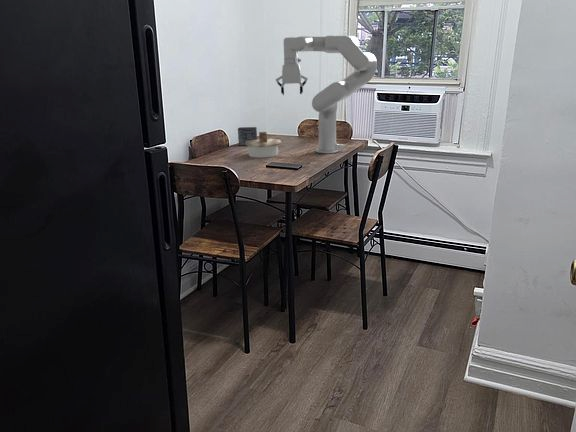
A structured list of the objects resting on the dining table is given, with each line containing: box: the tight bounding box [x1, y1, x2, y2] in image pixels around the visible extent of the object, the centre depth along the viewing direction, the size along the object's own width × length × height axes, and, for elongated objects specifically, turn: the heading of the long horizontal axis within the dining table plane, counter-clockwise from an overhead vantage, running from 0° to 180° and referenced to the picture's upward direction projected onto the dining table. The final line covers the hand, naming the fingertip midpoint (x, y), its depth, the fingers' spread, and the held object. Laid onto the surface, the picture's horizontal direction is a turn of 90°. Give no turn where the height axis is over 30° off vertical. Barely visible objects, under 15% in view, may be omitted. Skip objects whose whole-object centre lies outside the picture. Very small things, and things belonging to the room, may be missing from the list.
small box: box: [237, 126, 258, 147], centre depth 306 cm, size 11×6×10 cm, turn 84°
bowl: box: [247, 145, 279, 159], centre depth 276 cm, size 16×16×6 cm
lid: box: [246, 131, 282, 147], centre depth 275 cm, size 19×19×6 cm
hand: (292, 94), depth 280 cm, fingers open, 9 cm apart
